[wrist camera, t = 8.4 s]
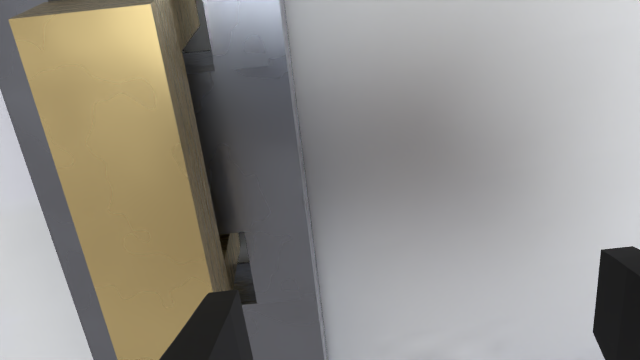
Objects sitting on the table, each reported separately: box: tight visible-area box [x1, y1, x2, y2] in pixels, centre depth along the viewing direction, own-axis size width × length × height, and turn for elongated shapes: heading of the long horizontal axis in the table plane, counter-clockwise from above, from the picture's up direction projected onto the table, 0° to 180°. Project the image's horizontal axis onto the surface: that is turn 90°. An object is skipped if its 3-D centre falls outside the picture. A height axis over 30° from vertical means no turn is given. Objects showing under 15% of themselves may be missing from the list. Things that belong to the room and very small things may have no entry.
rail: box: [0, 0, 328, 360], centre depth 19 cm, size 24×8×2 cm, turn 6°
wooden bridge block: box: [8, 0, 240, 360], centre depth 18 cm, size 10×3×6 cm, turn 6°
